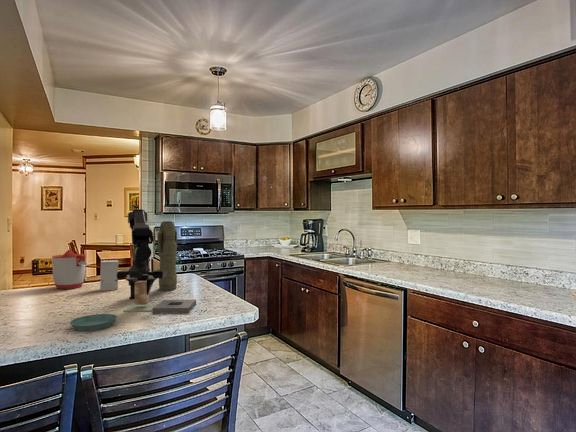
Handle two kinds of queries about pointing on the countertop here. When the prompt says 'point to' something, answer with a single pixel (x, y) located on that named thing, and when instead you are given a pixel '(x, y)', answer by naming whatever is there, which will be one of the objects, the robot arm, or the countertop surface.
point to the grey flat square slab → (174, 306)
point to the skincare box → (109, 275)
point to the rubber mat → (140, 308)
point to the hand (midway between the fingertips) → (142, 294)
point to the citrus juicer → (69, 270)
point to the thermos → (167, 255)
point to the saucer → (93, 322)
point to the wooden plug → (141, 293)
